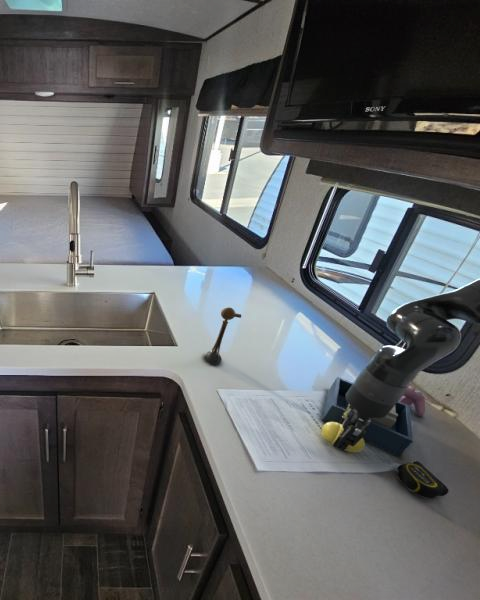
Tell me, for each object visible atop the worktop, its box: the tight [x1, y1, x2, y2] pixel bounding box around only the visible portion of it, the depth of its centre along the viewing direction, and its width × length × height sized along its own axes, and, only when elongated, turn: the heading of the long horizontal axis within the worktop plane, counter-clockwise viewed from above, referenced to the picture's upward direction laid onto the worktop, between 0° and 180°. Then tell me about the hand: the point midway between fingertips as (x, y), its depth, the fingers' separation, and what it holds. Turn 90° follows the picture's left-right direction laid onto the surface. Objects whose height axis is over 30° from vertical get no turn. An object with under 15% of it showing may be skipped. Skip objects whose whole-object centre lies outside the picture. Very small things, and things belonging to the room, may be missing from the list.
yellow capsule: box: [321, 422, 366, 453], centre depth 77 cm, size 8×5×5 cm, turn 51°
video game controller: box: [399, 385, 426, 417], centre depth 89 cm, size 10×5×7 cm, turn 65°
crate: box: [322, 376, 414, 457], centre depth 83 cm, size 16×14×6 cm
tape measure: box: [396, 460, 449, 499], centre depth 69 cm, size 7×7×4 cm
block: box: [344, 399, 398, 429], centre depth 83 cm, size 8×10×9 cm
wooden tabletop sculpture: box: [204, 306, 242, 366], centre depth 98 cm, size 6×5×20 cm
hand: (339, 439), depth 78 cm, fingers closed on yellow capsule, 5 cm apart
